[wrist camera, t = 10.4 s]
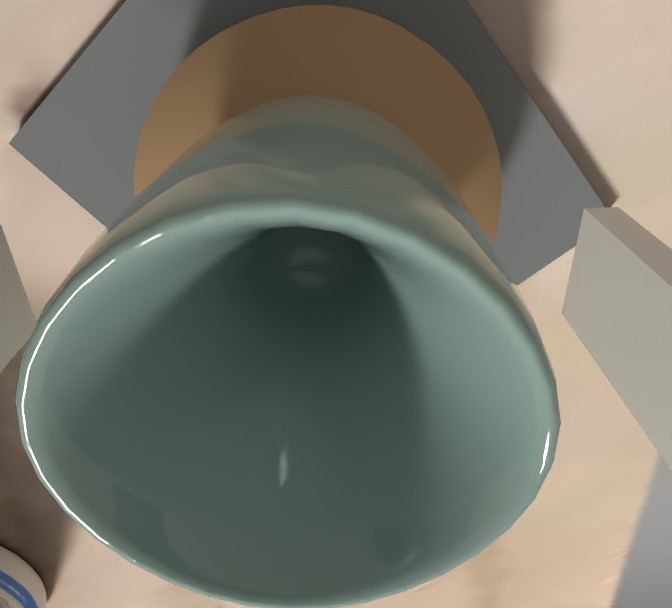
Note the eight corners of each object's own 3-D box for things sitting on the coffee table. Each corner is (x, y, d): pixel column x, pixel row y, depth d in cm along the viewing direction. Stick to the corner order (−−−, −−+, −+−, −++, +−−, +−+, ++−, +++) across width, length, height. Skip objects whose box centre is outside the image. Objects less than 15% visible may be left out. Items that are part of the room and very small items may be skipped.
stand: (17, 139, 19) (-45, 168, 16) (313, -220, 14) (306, -276, 11) (325, 406, 25) (323, 466, 22) (606, 213, 20) (655, 254, 17)
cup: (322, 2, 14) (295, 31, 5) (496, 219, 17) (665, 470, 8) (131, 200, 16) (-98, 439, 8) (310, 359, 19) (286, 660, 11)
